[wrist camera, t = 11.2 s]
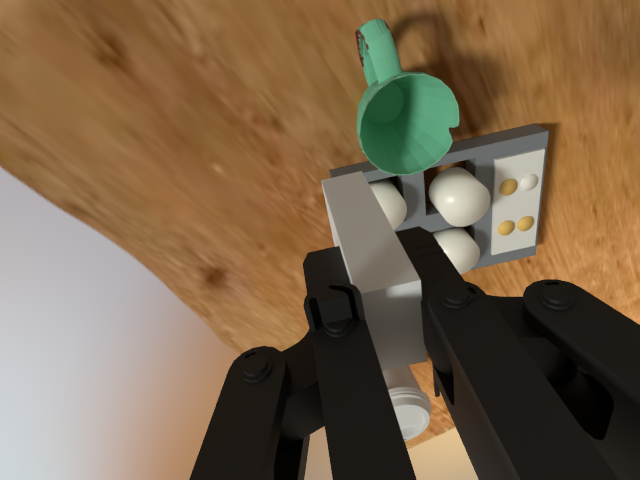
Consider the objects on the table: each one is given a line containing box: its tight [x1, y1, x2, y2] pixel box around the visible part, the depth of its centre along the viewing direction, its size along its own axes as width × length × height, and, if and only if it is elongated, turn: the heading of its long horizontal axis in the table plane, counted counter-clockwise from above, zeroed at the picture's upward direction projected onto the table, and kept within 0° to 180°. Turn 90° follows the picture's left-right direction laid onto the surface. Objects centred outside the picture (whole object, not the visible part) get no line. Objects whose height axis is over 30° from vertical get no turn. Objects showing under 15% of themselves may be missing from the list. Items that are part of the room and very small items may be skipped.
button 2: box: [368, 178, 407, 230], centre depth 51 cm, size 6×6×4 cm
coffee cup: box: [382, 365, 431, 441], centre depth 62 cm, size 10×10×15 cm
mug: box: [355, 19, 460, 176], centre depth 43 cm, size 15×10×10 cm
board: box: [329, 124, 549, 270], centre depth 55 cm, size 18×26×4 cm
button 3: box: [431, 226, 480, 274], centre depth 56 cm, size 6×6×4 cm
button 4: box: [429, 167, 490, 227], centre depth 49 cm, size 6×6×4 cm
